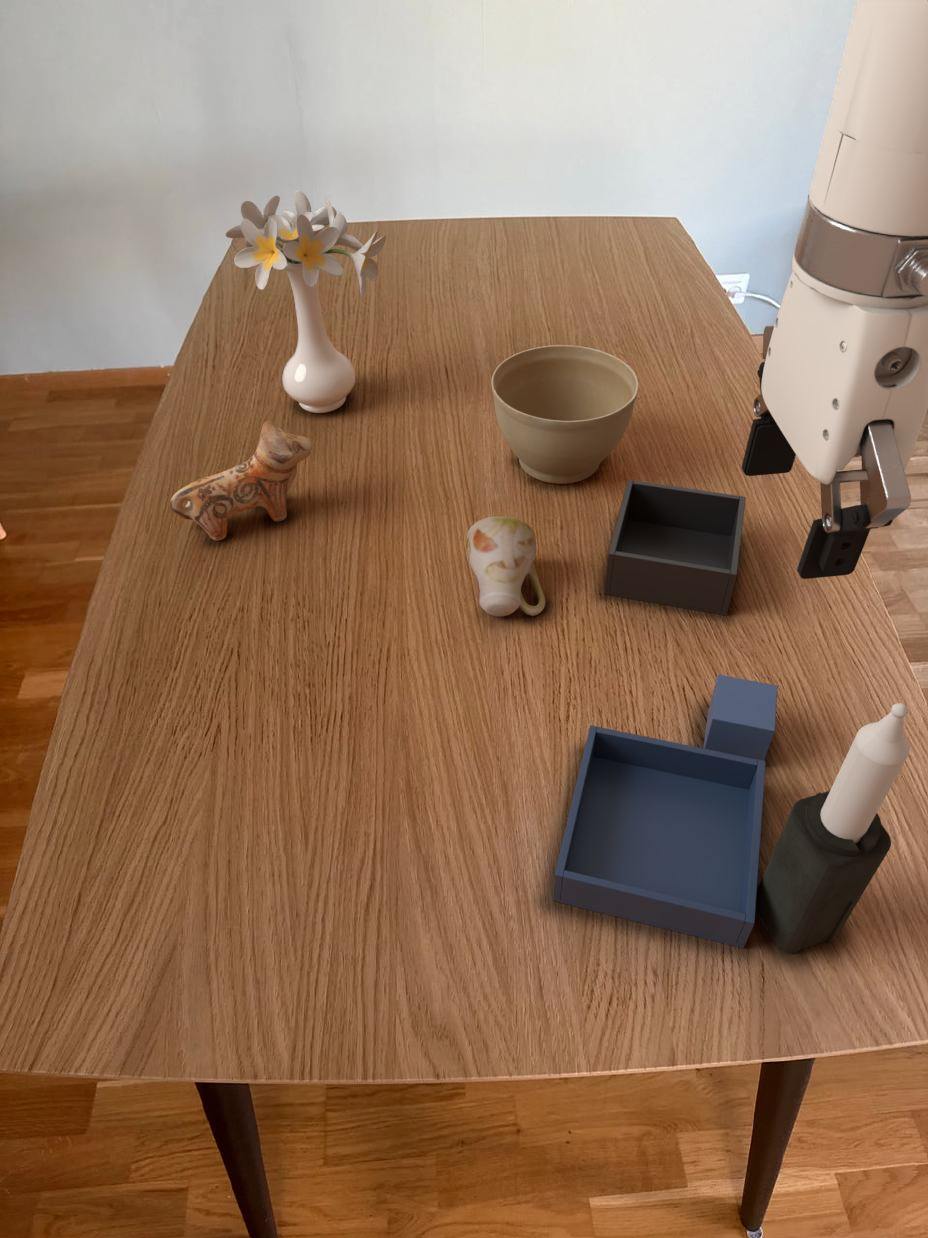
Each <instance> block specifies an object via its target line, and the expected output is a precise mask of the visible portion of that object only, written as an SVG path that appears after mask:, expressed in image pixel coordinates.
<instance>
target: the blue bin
mask: <svg viewBox="0 0 928 1238" xmlns="http://www.w3.org/2000/svg"><path fill="white" fill-rule="evenodd" d="M583 749H584V750H583V754H582V758H581V761H580V762H581V763H580V767H579V771H578V774H577V775H578V776H577V779H576V783H575V788H574V792H573V795H572V800H571V805H570V809H569V813H568V817H567V821H566V825H565V830H564V834H563V839H562V842H561V846H560V851H559V854H558V855H559V856H558V860H557V863H556V867H555V872H554V879H553V892H552V901H553V902H556V903H560V904H563V905H569V906H571V907H576V908H580V909H585V910H588V911H592V912H596V913H601V914H604V915H608V916H613V917H617V918H621V919H624V920H629V921H633V922H637V923H640V924H644V925H649V926H652V927H656V928H660V929H665V930H668V931H673V932H677V933H679V934H680V933H681V934H683V935H689V936H693V937H697V938H701V939H705V940H708V941H713V942H717V943H720V944H724V945H729V946H732V947H737V948H740V949H744V948H745V946H746V944H747V942H748V939H749V937H750V935H751V933H752V930H753V928H754V926H755V922H756V895H757V890H758V879H759V864H760V849H761V838H762V837H761V836H762V835H761V834H762V822H763V807H764V792H765V777H766V760H764V761H762V760H757V759H752V758H747V757H742V756H737V755H732V754H728V753H723V752H718V751H713V750H708V749H703V747H698V746H693V745H688V744H683V743H679V742H674V741H670V740H664V739H659V738H654V737H649V736H645V735H639V734H634V733H630V732H626V731H620V730H616V729H612V728H611V729H610V728H606V727H600V726H598V725H597V726H596V725H592V724H590V725H589V728H588V732H587V737H586V741H585V746H584V748H583Z"/></svg>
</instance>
